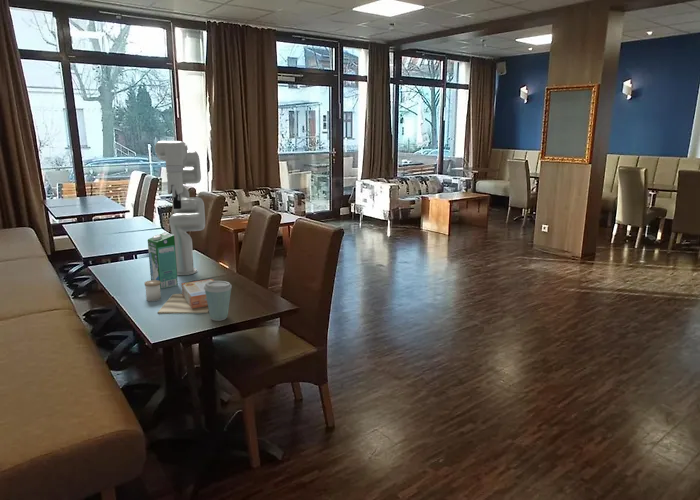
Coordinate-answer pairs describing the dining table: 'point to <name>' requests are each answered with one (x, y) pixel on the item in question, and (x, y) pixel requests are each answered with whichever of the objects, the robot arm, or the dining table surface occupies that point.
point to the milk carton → (163, 259)
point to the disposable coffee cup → (218, 299)
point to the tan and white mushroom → (153, 290)
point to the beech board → (180, 306)
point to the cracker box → (195, 293)
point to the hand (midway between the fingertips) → (177, 208)
